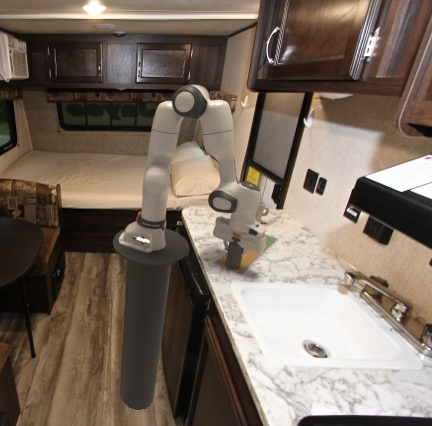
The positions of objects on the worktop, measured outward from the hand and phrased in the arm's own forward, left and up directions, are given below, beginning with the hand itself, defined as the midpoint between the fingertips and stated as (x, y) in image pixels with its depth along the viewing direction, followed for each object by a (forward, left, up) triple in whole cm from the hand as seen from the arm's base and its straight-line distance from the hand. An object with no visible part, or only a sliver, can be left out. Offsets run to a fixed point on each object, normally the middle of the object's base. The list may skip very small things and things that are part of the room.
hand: (234, 253), depth 120 cm
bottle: (0, 0, -6) cm, 6 cm away
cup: (+13, +48, -6) cm, 50 cm away
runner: (+6, +11, -6) cm, 13 cm away
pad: (+15, +29, -6) cm, 33 cm away
